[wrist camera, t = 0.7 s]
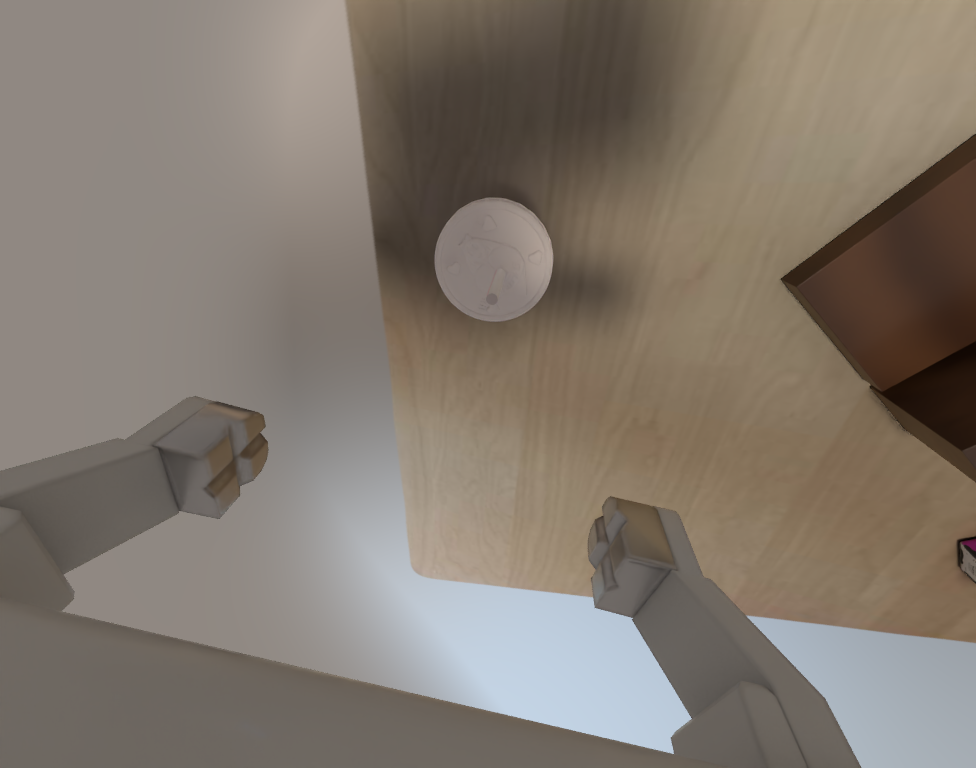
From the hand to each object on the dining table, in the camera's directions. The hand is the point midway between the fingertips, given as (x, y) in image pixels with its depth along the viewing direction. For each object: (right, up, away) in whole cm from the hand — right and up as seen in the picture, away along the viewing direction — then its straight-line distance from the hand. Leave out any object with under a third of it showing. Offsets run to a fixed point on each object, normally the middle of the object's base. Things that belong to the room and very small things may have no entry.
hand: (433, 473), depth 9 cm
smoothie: (+3, +13, +20) cm, 24 cm away
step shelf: (+34, +8, +19) cm, 39 cm away
